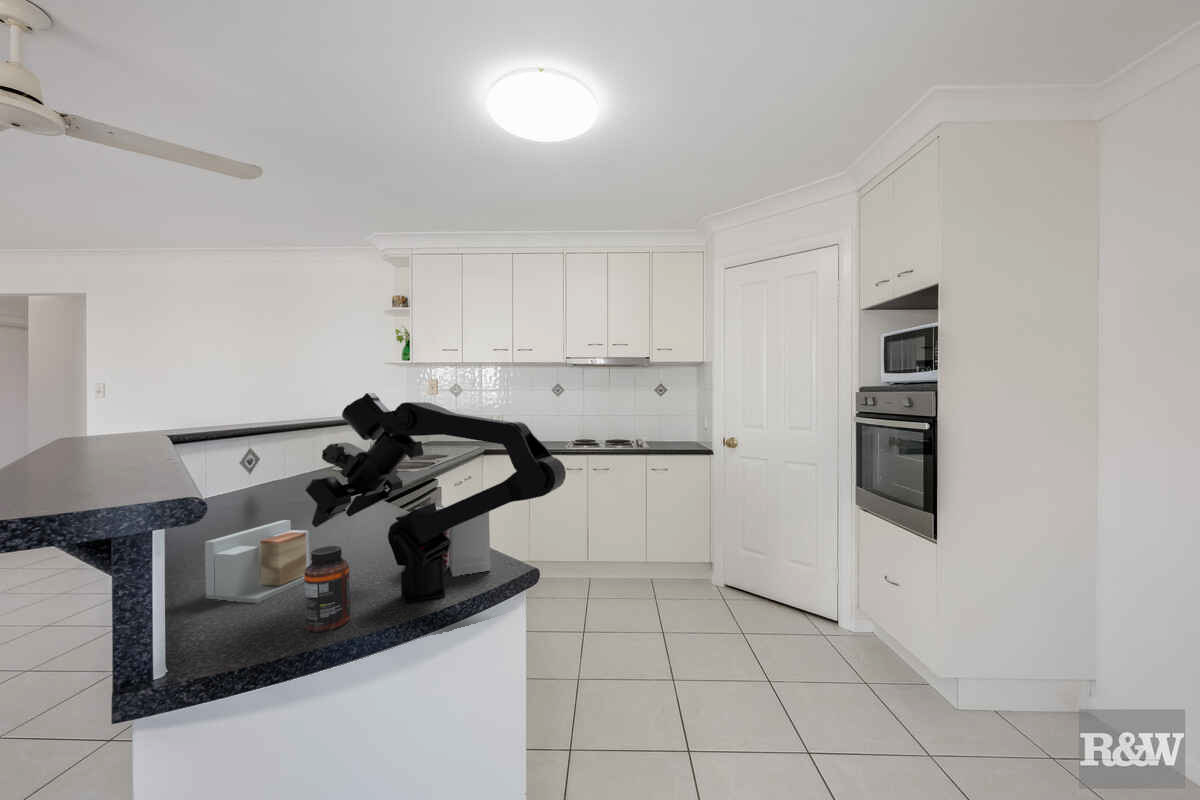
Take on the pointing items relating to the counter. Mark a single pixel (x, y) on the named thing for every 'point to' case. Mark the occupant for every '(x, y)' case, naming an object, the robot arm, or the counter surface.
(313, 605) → the supplement bottle
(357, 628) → the counter surface
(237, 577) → the mount
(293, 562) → the push block
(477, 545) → the supplement box
